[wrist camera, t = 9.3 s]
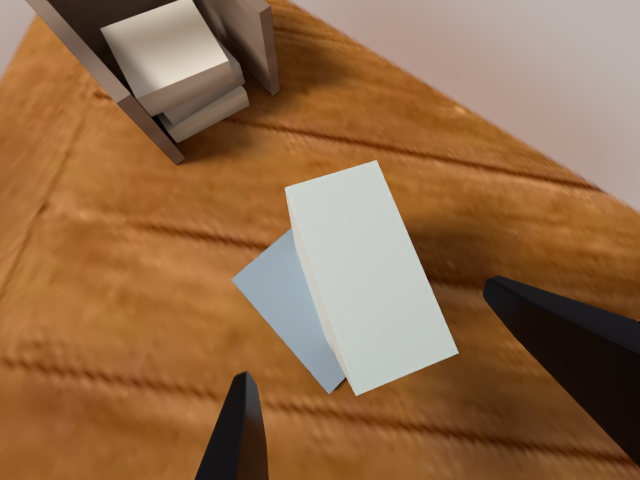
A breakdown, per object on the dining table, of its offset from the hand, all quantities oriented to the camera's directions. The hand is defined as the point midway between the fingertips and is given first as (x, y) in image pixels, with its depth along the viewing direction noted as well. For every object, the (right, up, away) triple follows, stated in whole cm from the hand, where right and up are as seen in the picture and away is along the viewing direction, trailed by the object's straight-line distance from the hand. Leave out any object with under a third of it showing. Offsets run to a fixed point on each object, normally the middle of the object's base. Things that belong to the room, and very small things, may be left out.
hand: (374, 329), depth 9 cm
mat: (-1, 0, +8) cm, 8 cm away
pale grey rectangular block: (-1, 0, +8) cm, 8 cm away
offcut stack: (-11, +14, +11) cm, 21 cm away
